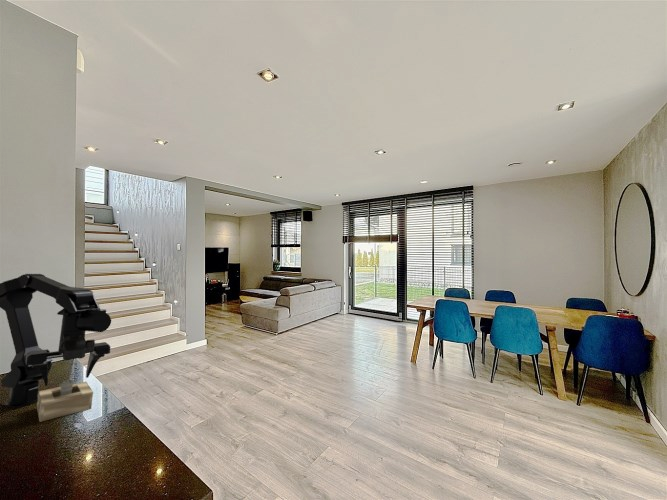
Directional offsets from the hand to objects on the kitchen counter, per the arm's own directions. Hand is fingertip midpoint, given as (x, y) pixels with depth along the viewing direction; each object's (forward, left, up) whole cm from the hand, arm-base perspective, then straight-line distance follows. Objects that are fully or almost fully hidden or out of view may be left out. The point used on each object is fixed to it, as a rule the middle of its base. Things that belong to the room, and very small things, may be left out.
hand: (67, 381), depth 86 cm
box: (0, 0, -8) cm, 8 cm away
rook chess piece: (0, 0, -8) cm, 8 cm away
